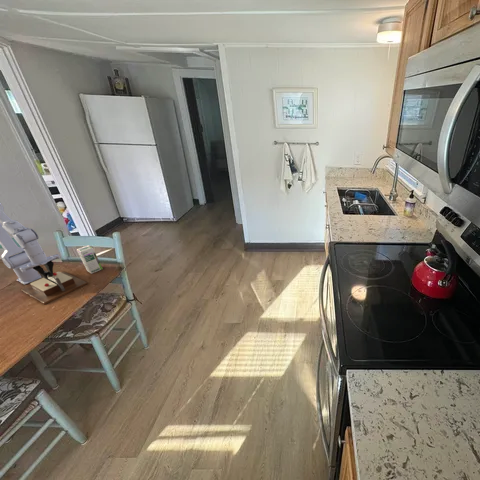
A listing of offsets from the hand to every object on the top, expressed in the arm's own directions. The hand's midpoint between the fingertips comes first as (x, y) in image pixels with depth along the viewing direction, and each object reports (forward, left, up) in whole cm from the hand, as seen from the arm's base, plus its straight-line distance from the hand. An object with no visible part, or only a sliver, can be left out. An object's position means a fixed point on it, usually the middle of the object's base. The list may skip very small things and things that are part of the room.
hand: (49, 276), depth 135 cm
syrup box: (+1, +18, -7) cm, 19 cm away
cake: (0, 0, -6) cm, 6 cm away
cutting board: (0, 0, -7) cm, 7 cm away
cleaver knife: (0, 0, -4) cm, 4 cm away
